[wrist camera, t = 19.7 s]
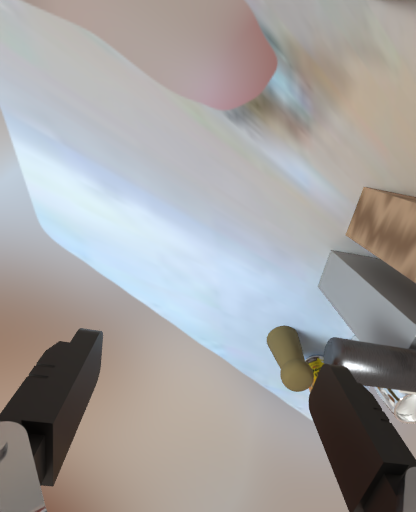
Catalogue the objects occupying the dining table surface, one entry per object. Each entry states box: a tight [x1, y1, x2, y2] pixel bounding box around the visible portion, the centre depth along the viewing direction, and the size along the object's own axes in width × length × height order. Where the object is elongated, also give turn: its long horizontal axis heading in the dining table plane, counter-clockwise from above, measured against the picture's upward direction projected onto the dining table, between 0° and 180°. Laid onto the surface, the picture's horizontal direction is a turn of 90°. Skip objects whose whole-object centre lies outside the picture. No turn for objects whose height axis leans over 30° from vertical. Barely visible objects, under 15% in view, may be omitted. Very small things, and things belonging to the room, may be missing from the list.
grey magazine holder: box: [318, 250, 416, 395], centre depth 41 cm, size 7×14×24 cm, turn 79°
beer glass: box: [351, 335, 416, 424], centre depth 51 cm, size 7×7×15 cm
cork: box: [267, 326, 314, 392], centre depth 52 cm, size 6×6×11 cm
